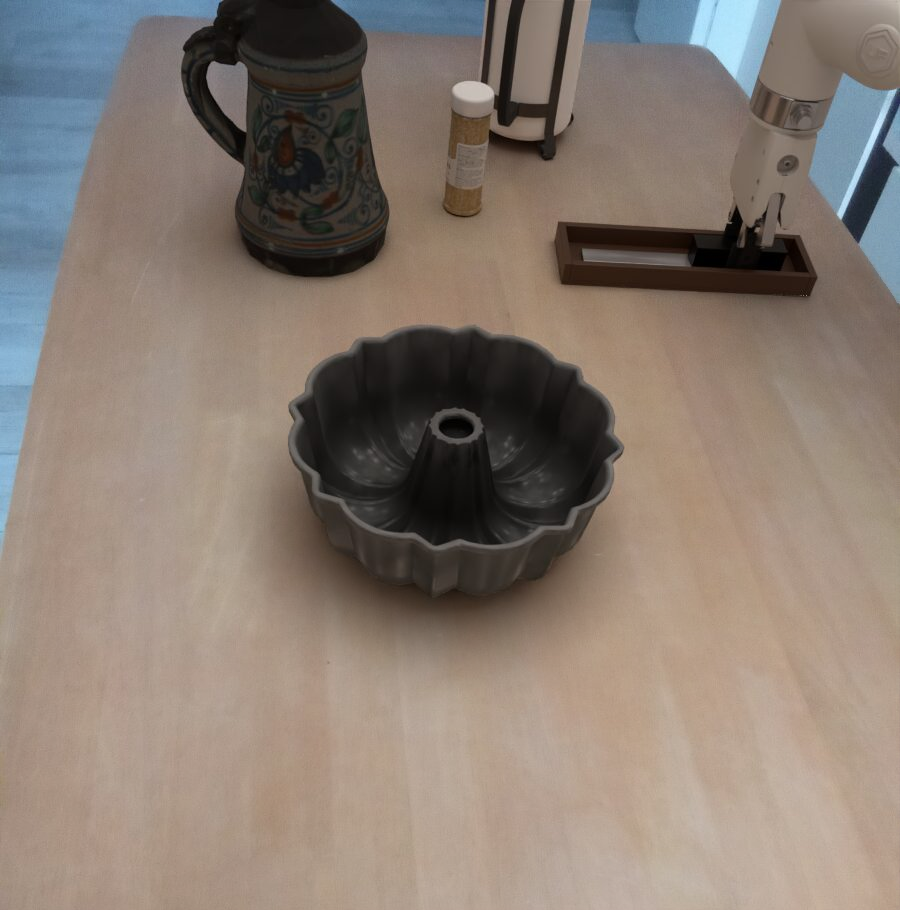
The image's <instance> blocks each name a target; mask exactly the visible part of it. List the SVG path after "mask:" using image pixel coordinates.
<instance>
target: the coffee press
mask: <svg viewBox="0 0 900 910" xmlns="http://www.w3.org/2000/svg"><path fill="white" fill-rule="evenodd" d="M591 4H592V0H485V6H484V14H483V15H484V16H483V28H482V37H481V46H480V47H481V48H480V58H479V67H478V79H477V82H481V83H484V84H486V85H488V86H489V87H491V88H492V89H493V91H494V106H493V111H492V114H491V116H490V126H489V133H490V132H494V133H495V134H497V135H500V136H502V137H505V138H509V139H512V140H517V141H528V142H529V141H530V142H533V141H534V142H535V143H536V144H537V146H538V150H539V154H540V157H541V158H542V159H543V160H546V159H551V158H556V156H557V147H556V142H555V137H556V136H557V135H559V134H561V133H562V132H563V131H564V130H565V129H566V128H567V127H568V126H570V125H571V124H572V123H573V122H574V120H575V119H574V118H575V116H574V114H573V109H574V108H573V107H574V103H575V96H576V91H577V85H578V79H579V74H580V68H581V62H582V56H583V51H584V45H585V39H586V33H587V28H588V21H589V17H590V9H591Z"/></svg>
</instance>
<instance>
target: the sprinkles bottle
mask: <svg viewBox="0 0 900 910" xmlns="http://www.w3.org/2000/svg"><path fill="white" fill-rule="evenodd" d="M493 106H494V91H493V89H492V88H491V87H489V86H488V85H486V84H484V83H481V82H478V81H475V80H464V81H459V82H458V83H456V84H455V85H453V87H452V88H451V95H450V110H451V115H450V116H451V117H450V128H449V138H448V144H447V145H448V146H447V158H446V167H445V168H446V169H445V186H444V187H445V188H444V189H445V190H444V197H443V200H442V205H443V207H444V209H445V210H446V211H448V212H449V213H451V214H453V215H456V216H463V217H464V216H465V217H467V216H468V217H469V216H473V215H475V214H477V213H479V212H480V211H481V210H482V206H483V204H482V197H483V187H484V183H485V177H486V166H487V158H488V149H489V140H490V138H489V137H490V136H489V133H490V132H489V126H490V116H491V114H492V111H493Z"/></svg>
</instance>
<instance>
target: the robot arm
mask: <svg viewBox="0 0 900 910" xmlns="http://www.w3.org/2000/svg"><path fill="white" fill-rule="evenodd" d="M844 74H845V75H846V76H847V77H849V78H851V79H852V80H854V81H855V82H857V83H859V84H860V85H862V86H864V87H866V88H869V89H872V90H876V91H882V92H883V91H884V92H885V91H894V90H898V89H900V0H780V3H779V6H778V9H777V12H776V16H775V20H774V22H773V26H772V29H771V32H770V36H769V38H768V42H767V45H766V48H765V51H764V55H763V58H762V61H761V64H760V67H759V71H758V74H757V77H756V81H755V83H754V86H753V90H752V93H751V96H750V99H749V103H748V106H747V113H748V116H749V117H748V120H747V122H746V124H745V126H744V127H745V128H744V130H743V133H742V136H741V139H740V141H739V144H738V147H737V149H736V153H735V156H734V159H733V163H732V166H731V170H730V175H729V186H730V189H731V192H732V196H733V197H732V199H733V200H732V203H731V206H730V208H729V211H728V214H727V223H726V224H725V227H724V230H723V231H724V233H723V236H735V237H738V240H737V243H735V242H733V245H732V248H731V251H730V254H729V257H728V259H727V262H726V265H725V268H729V269H747V270H755V268H756V265H757V263H758V260H759V257H760V254H761V252H762V250H763V249H764V248H765V247H771V246H772V245H773V240H774V235H775V234H776V229H777V224H779V227H780V229H781V230H783V231H788V230H789V229H790V228H791V227H792V225H793V222H794V220H795V217H796V214H797V211H798V208H799V206H800V202H801V198H802V196H803V193H804V190H805V187H806V183H807V181H808V178H809V174H810V171H811V166H812V163H813V159H814V154H815V150H816V145H817V140H818V132H820V131H821V130H822V129H823V127H824V125H825V122H826V120H827V118H828V115H829V112H830V110H831V107H832V105H833V101H834V100H835V99H834V98H835V96H836V93H837V91H838V88H839V85H840V83H841V80H842V77H843V75H844ZM757 228H758V229H759V230H758V231H756V229H757Z"/></svg>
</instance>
